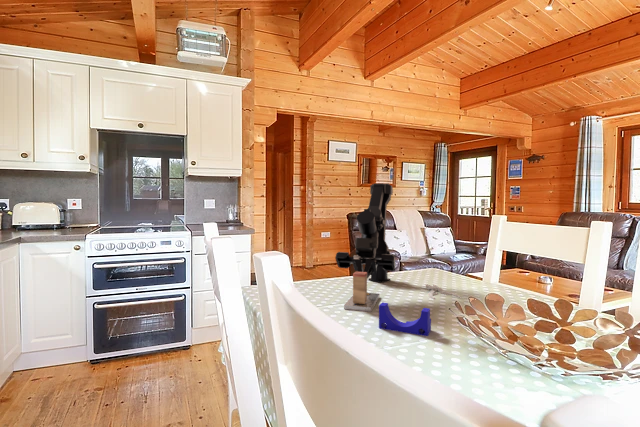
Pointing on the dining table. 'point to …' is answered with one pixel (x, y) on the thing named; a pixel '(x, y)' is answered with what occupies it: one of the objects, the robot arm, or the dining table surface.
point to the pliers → (436, 288)
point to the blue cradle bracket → (413, 327)
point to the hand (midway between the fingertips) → (361, 283)
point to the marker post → (360, 287)
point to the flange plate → (368, 306)
